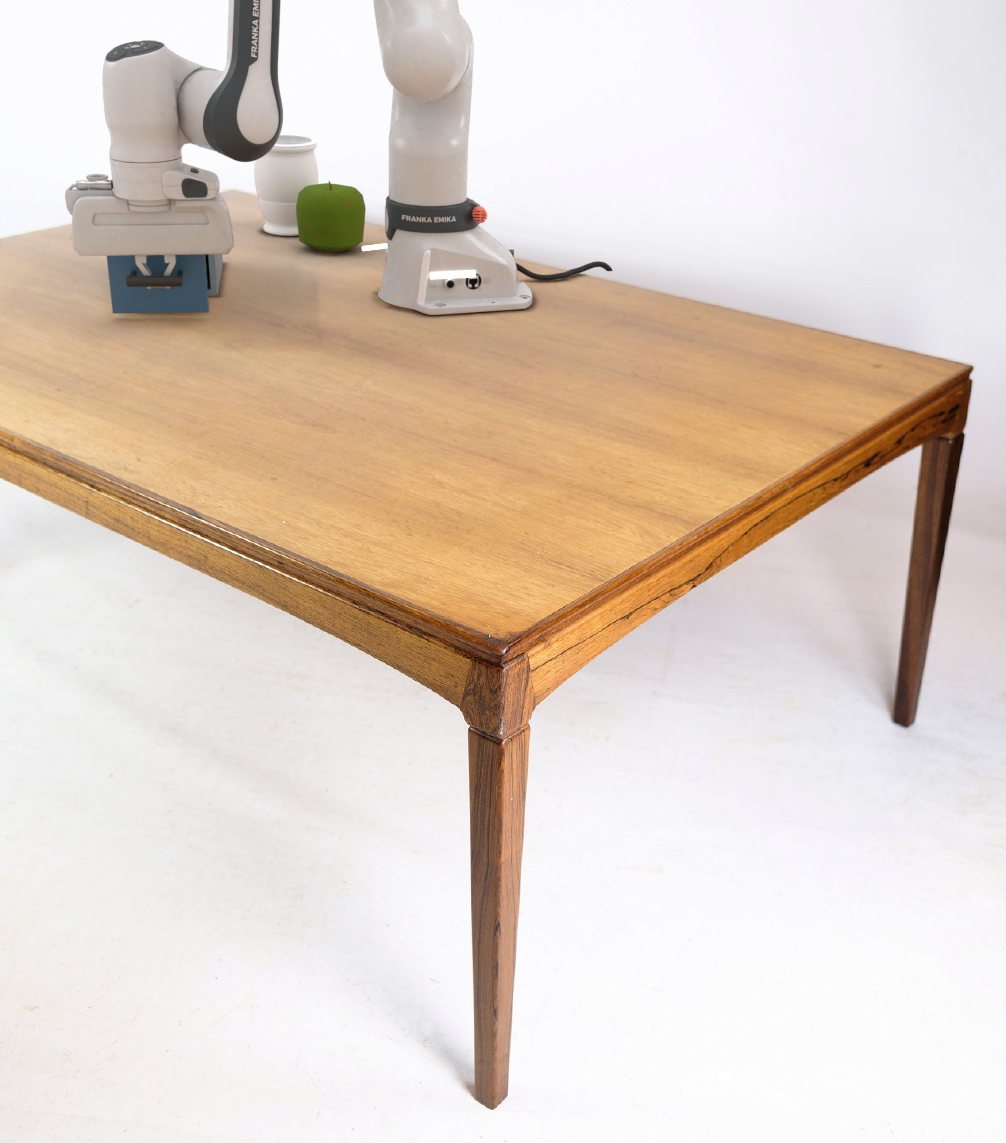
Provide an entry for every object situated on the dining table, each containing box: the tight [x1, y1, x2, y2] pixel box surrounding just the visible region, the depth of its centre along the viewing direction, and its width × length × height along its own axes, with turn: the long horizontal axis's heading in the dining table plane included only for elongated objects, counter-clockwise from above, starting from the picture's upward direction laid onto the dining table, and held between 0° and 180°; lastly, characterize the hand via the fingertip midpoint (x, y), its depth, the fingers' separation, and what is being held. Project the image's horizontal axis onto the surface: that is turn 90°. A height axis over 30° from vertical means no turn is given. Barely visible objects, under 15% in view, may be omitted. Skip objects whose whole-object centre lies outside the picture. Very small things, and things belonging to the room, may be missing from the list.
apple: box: [296, 180, 367, 253], centre depth 209 cm, size 11×11×11 cm
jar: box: [253, 134, 319, 237], centre depth 217 cm, size 11×10×15 cm
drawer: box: [106, 255, 210, 314], centre depth 177 cm, size 22×13×9 cm, turn 8°
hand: (159, 287), depth 170 cm, fingers closed
